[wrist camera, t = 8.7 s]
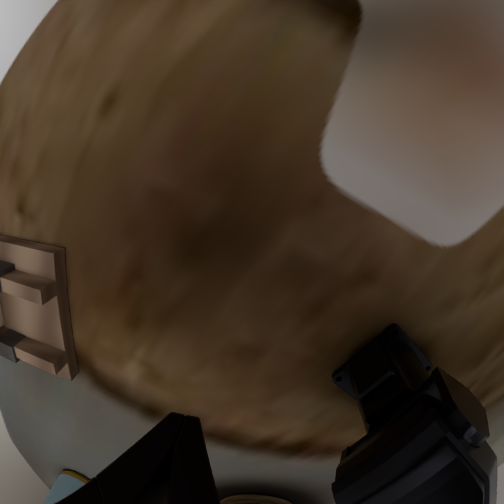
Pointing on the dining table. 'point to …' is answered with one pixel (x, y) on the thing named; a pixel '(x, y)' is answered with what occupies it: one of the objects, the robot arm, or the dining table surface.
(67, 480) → the bottle
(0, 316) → the birch peg
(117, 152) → the dining table surface
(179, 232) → the dining table surface
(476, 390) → the dining table surface
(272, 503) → the decorative pitcher
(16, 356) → the peg housing
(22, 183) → the dining table surface
